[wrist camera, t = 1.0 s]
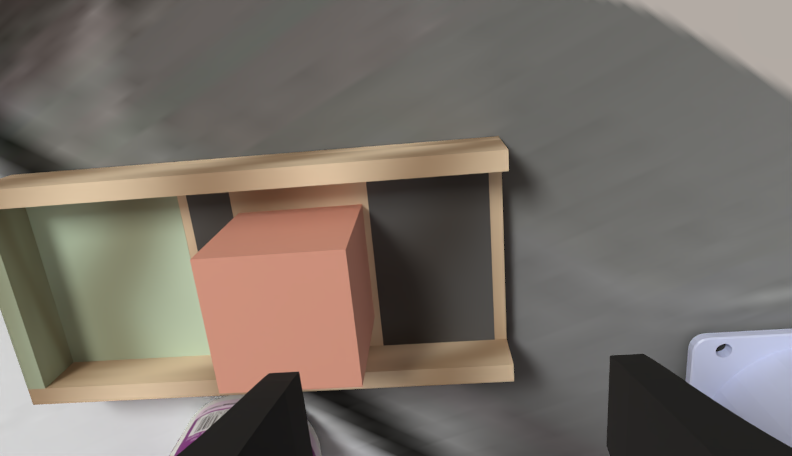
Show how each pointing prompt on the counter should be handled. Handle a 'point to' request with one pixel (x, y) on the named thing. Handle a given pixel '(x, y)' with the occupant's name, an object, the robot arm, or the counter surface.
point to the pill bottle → (212, 414)
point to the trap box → (209, 213)
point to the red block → (287, 297)
